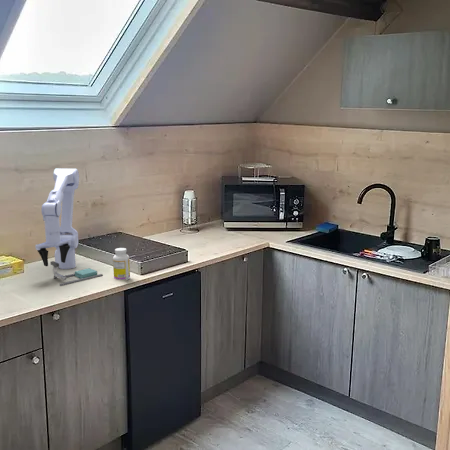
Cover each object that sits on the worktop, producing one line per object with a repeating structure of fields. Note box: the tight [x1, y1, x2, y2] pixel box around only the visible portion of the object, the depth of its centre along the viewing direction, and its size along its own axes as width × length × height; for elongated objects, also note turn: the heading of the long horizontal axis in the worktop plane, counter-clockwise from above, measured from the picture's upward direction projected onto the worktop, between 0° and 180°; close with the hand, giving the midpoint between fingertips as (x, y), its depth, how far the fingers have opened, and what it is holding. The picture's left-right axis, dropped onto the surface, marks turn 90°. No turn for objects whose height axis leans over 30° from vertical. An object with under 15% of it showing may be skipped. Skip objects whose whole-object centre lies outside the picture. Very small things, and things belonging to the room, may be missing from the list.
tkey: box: [50, 260, 67, 281], centre depth 233 cm, size 10×1×7 cm, turn 44°
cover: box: [74, 268, 98, 279], centre depth 239 cm, size 6×7×3 cm
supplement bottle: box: [112, 247, 131, 281], centre depth 236 cm, size 7×7×13 cm
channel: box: [59, 272, 103, 287], centre depth 236 cm, size 9×19×2 cm, turn 134°
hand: (54, 264), depth 234 cm, fingers open, 7 cm apart
